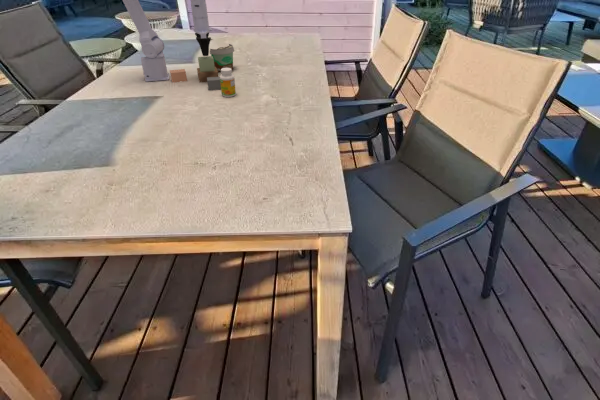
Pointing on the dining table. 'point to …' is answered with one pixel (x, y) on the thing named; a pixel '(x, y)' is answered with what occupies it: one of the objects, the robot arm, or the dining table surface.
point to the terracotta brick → (178, 75)
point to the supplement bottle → (227, 83)
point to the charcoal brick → (213, 83)
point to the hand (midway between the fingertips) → (205, 53)
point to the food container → (223, 57)
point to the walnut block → (206, 75)
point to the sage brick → (206, 64)
